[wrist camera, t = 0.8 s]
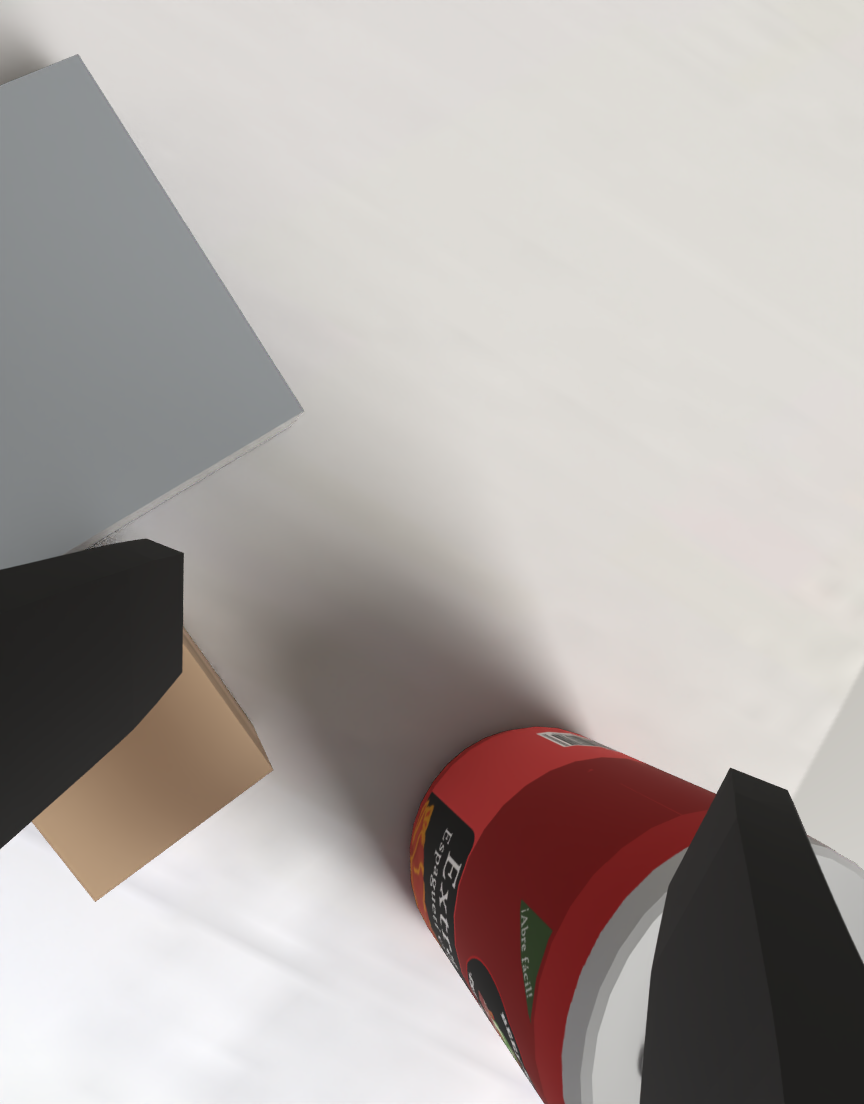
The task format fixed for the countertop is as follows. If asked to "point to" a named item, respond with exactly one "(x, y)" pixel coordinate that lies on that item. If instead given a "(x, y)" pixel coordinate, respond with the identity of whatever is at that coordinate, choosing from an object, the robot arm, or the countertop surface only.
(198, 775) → the light brown rectangular block
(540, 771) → the canned food
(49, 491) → the slate base
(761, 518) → the countertop surface
